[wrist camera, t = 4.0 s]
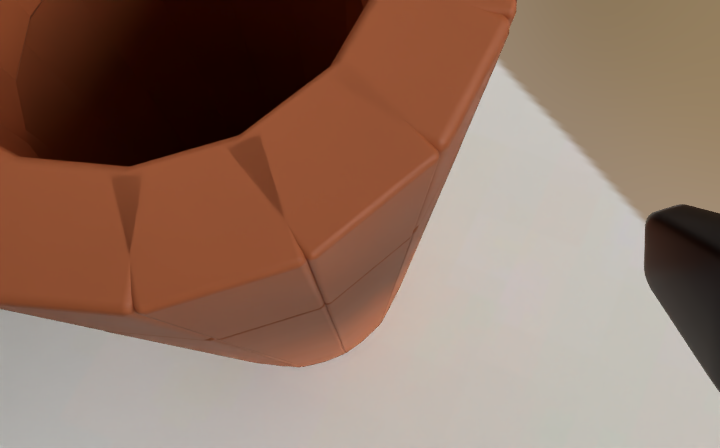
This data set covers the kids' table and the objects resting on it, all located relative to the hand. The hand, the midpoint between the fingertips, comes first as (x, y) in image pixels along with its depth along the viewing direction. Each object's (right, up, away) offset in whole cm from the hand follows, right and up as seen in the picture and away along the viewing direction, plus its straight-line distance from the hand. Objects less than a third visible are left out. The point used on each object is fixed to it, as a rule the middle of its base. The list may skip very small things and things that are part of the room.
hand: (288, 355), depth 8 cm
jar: (-1, +1, +11) cm, 11 cm away
